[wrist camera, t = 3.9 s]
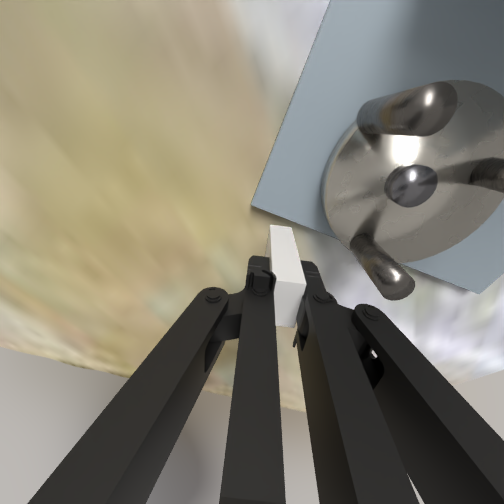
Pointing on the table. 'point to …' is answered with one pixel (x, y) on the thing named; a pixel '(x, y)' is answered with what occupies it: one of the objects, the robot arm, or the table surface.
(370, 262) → the capstan
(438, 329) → the table surface
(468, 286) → the stand
